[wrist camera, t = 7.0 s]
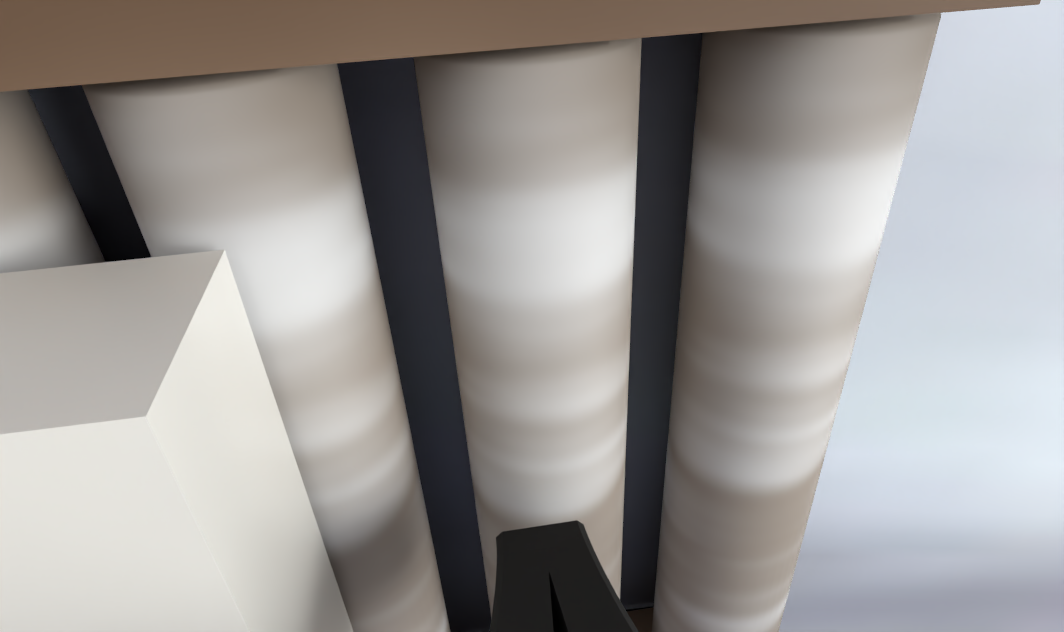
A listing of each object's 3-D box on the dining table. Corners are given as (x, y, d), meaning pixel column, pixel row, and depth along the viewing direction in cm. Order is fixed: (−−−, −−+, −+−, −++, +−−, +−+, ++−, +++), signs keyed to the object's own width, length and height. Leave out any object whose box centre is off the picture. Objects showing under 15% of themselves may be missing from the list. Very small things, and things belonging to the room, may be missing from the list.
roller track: (752, 615, 21) (798, 721, 18) (-143, 757, 18) (-229, 898, 16) (917, -124, 10) (1079, -114, 8) (-1089, 9, 8) (-1753, 81, 6)
